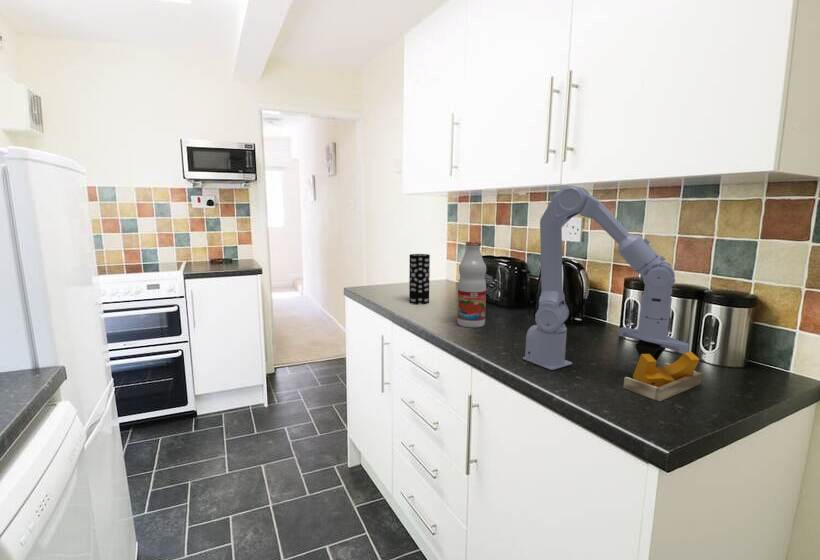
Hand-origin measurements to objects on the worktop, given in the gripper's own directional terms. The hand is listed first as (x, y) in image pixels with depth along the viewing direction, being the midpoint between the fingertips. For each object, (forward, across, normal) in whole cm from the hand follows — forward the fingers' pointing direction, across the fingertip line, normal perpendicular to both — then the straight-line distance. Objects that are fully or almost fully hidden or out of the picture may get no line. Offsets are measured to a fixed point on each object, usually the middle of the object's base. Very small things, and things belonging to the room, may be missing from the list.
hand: (647, 374), depth 97 cm
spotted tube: (+3, +96, -1) cm, 96 cm away
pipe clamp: (+1, -3, -1) cm, 3 cm away
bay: (+2, -4, 0) cm, 4 cm away
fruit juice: (+3, +58, +3) cm, 59 cm away
